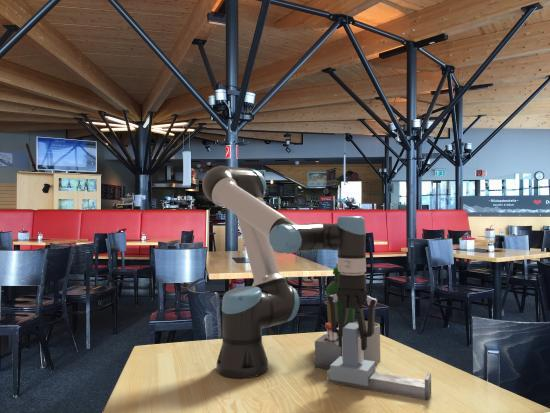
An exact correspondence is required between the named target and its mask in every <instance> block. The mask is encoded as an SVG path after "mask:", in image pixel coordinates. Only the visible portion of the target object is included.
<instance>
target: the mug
mask: <svg viewBox="0 0 550 413" xmlns="http://www.w3.org/2000/svg"><path fill="white" fill-rule="evenodd" d="M354 323H357V324H358V321H357V320H356V321H355V322H354ZM365 324H366V330H367V326H368V320H365ZM364 360H369V361H375V364H377V363H379V362H380V361H381V325H380V323H378V322H376V321H374V334H373V335H372V336H371V337H367V349H366V350H364Z"/></svg>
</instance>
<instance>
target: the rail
mask: <svg viewBox="0 0 550 413" xmlns="http://www.w3.org/2000/svg"><path fill="white" fill-rule="evenodd" d="M326 373H327V374H326V377H327V378H326V379H327V380H326V382H327V383H329V384H334V385H340V386H346V387H351V388H356V389H362V390H368V391H373V392H379V393H383V394H384V393H385V394H390V395H395V396H400V397H401V396H402V397H406V398H412V399H416V400H417V399H418V400H422V401H423V400H424V401H430V398H431V395H432V373H431V372H427V373H426V375H425V378H424V379H421V378H414V377H408V376H404V375H403V376H402V375H397V374H390V373H383V372H377V371H375V372H373V373H372V374H371V375H370V376H369V385H368V386H365V385H359V384H354V383H348V382H342V381H337V380H331V373H330V369H329V370H326Z"/></svg>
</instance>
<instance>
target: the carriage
mask: <svg viewBox="0 0 550 413" xmlns="http://www.w3.org/2000/svg"><path fill="white" fill-rule="evenodd" d="M359 337H360V331H359V326H358V324H357V323H348V324H347V325H346V326H344V327H343V361H342V356H340V357H339V358H338V359H337V360H335V361H334V362H333V363H332V364H331V365H330V373H331V380H337V381H342V382H348V383H354V384H359V385H365V386H368V385H369V376H370V375H371V374H372V373H373V372H376V363H375V361H369V360H364V361H363V362H362V363H361V364H360V363H358V338H359Z"/></svg>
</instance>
